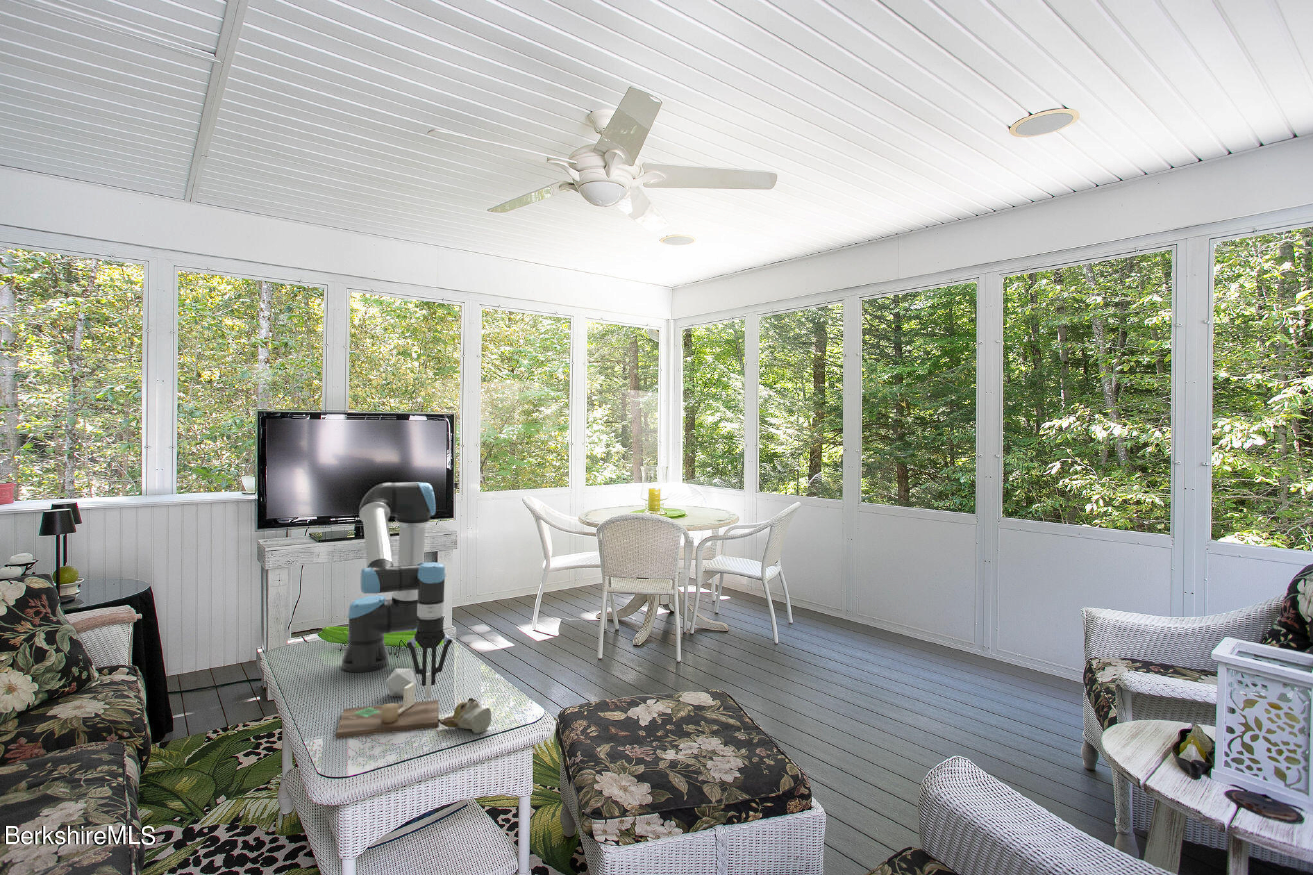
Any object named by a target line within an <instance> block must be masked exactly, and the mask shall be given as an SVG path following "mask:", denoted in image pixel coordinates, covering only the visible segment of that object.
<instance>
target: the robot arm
mask: <svg viewBox="0 0 1313 875" xmlns="http://www.w3.org/2000/svg"><path fill="white" fill-rule="evenodd" d="M436 508H437V505H436V498H435V492H434V488H433V486H432V484H431V483H428V482H419V481H412V482H411V481H410V482H407V481H406V482H382V483H379V484H377V485H375V486H374V487H372V488H370V489H369V491H368V492H366V494H365V495H364V496H363V498H362V500H361V502H360V505H359V509H358V511H359V512H358V513H359V514H358V515H359V519H360V520H361V522H362V523H363V535H364V547H365V548H364V550H365V561H366V567H364V568H362V569H361V570H360V592H361V593H363V594H374V595H368V596H365V597H360V598H358V599H356V600H354V601H352V602H351V603H350V605H349V607H348V608H349V609H348V615H347V618H348V629H347V630H348V632H347V646H346V648H345V651H344V654H343V656H342V658H341V659H342V660H341V670H343V671H346V672H349V673H350V672H351V673H365V672H371V671H372V672H373V671H376V670H380V669H383V668H385V667H386V666H388V665H389V662H390V660H389V658H390V656H389V652H388V650H387V647H386V644H385V635H386V634H395V633H403V632H405V633H406V632H414V631H415V634H414V637H413V638H411V639H409V640H407V641H406V646H407V648H408V649H409V650H410V654H411V659H412V663H413V664H412V665H413V668H414V673H415V674H416V675H421V686H422V687H425V699H430V698H432V686H435V685H436V675H437V673H441V672H442V671H443V670H444V669H443V668H444V664H445V661H446V658H447V653H448V652H449V651H448V650H449V647H450V646H451V644H452V643H453V638H452V637H450V636H449V637H448V636H447V635H446V633H445V631H444V620H445V619H444V614H445V611H444V610H445V583H446V582H445V580H446V571H445V569H446V566H445V565H444V564H443V563H440V562H437V561H436V562H434V561H433V562H424V560H425V556H424V555H425V540H426V539H425V537H426V536H425V535H426V525H427V524H428V523H429V522H430V521H431V516H434V515H436ZM390 517H395V519H394V520H395V522H396V523H397V524H398V526H399V533H398V534H399V536H398V552H397V553H398V554H397V555H398V558H397V566H394V558H393V550H392V543H391V542H392V541H391V534H390V525H389V519H390ZM381 593H383V594H384V593H391V599H389V598H388V599H386V597H385V595H380V594H381ZM375 594H379V595H375ZM442 641H443V646H442V649H441V650H442V651H441V654H440V658H439V662H438V665H437V647H438V646H439V645H440V644H441V643H442ZM416 644H418V645H419V647H420V648H421V649H422V658H421V660H422V661H421V664H422V666H421V667H420V663H419V659H418V653H417V651H416ZM428 649H431V664H430V666H431V668H430V670H431V671H430V672H427V667H428V666H427V664H428V661H427V659H428ZM436 665H437V666H436Z"/></svg>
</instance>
